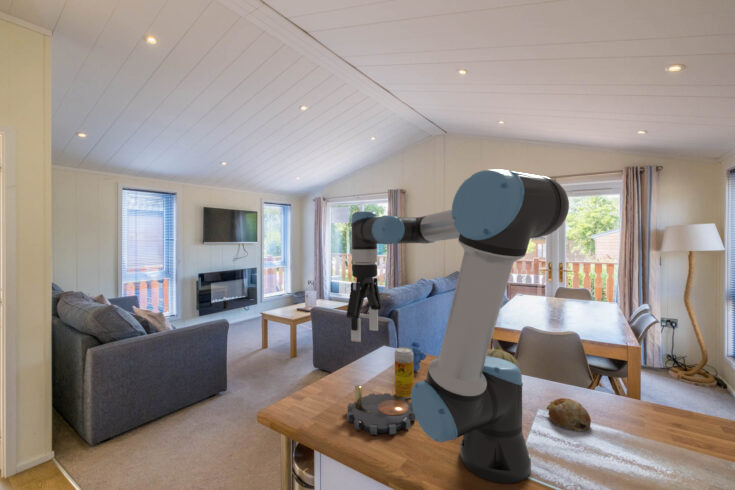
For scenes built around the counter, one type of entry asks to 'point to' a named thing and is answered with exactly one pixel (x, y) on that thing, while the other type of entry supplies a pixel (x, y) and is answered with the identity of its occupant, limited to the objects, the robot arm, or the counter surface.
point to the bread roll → (569, 414)
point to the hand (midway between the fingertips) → (365, 335)
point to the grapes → (417, 355)
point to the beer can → (404, 372)
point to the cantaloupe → (503, 356)
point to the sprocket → (380, 412)
